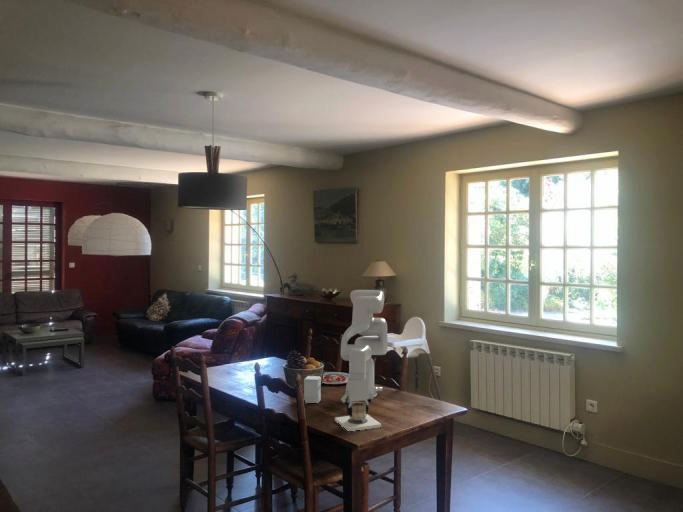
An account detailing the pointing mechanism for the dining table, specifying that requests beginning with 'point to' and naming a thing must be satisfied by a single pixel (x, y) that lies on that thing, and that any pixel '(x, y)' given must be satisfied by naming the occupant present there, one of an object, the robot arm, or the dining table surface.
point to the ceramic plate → (335, 378)
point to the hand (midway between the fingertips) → (357, 414)
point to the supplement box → (312, 389)
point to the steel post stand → (358, 423)
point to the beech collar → (358, 410)
